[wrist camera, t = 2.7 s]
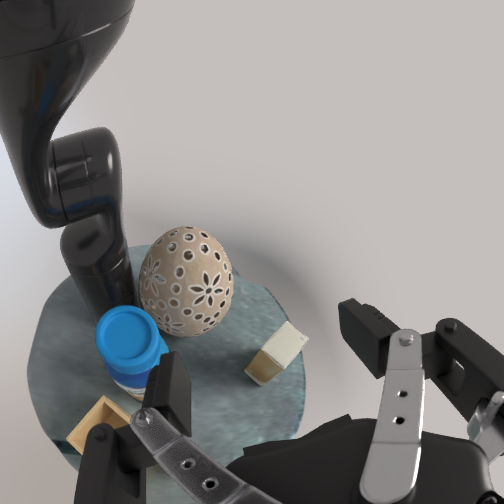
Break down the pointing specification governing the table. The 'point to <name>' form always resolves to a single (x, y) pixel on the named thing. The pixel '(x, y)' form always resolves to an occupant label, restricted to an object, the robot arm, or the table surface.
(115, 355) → the beverage bottle
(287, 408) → the table surface
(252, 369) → the cosmetic box
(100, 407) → the open box
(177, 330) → the ornament
